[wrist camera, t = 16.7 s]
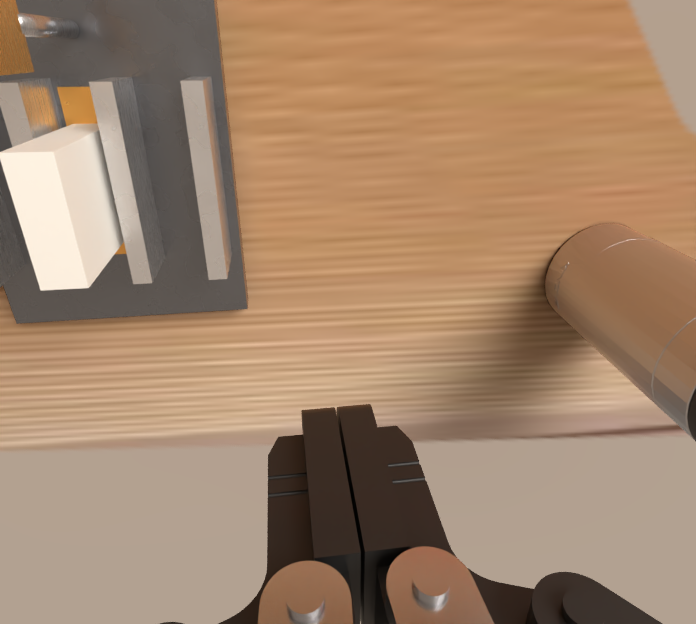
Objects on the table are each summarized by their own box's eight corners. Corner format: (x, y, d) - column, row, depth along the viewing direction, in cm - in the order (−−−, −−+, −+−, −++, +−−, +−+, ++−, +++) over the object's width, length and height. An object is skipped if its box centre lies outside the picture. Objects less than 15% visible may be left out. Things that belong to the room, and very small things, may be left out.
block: (112, 123, 32) (53, 151, 23) (133, 228, 36) (88, 288, 27) (73, 123, 32) (-2, 152, 23) (97, 229, 35) (40, 290, 26)
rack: (215, -7, 31) (185, -37, 20) (248, 300, 41) (240, 392, 30) (-85, -10, 29) (-298, -44, 18) (25, 314, 39) (-70, 417, 28)
